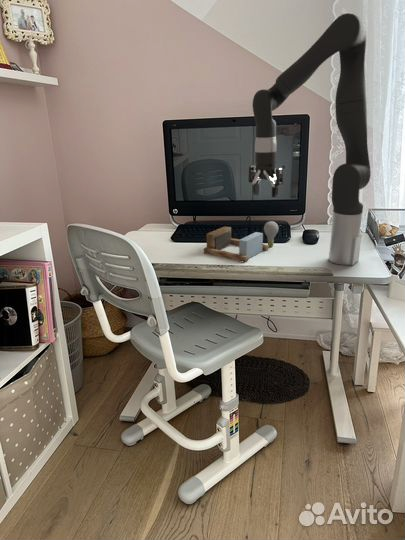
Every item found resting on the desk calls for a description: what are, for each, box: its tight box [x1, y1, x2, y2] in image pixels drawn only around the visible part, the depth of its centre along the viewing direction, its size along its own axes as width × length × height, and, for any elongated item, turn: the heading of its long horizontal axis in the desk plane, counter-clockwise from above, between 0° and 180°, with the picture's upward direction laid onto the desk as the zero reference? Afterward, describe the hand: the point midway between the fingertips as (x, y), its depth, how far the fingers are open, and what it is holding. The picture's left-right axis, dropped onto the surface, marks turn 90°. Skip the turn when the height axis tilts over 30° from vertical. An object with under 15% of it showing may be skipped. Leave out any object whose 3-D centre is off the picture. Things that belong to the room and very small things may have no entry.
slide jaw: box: [238, 231, 264, 260], centre depth 155 cm, size 3×12×7 cm, turn 144°
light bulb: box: [263, 220, 279, 248], centre depth 162 cm, size 6×5×10 cm
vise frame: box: [203, 226, 269, 263], centre depth 158 cm, size 18×16×7 cm
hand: (265, 195), depth 158 cm, fingers open, 8 cm apart
